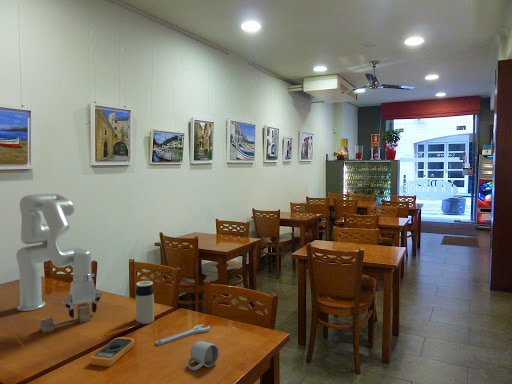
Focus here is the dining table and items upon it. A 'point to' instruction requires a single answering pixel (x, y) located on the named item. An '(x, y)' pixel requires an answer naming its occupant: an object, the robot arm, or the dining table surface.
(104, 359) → the multimeter
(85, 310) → the block
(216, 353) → the ceramic mug
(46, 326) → the bar clamp
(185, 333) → the adjustable wrench
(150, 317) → the travel mug
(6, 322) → the dining table surface
